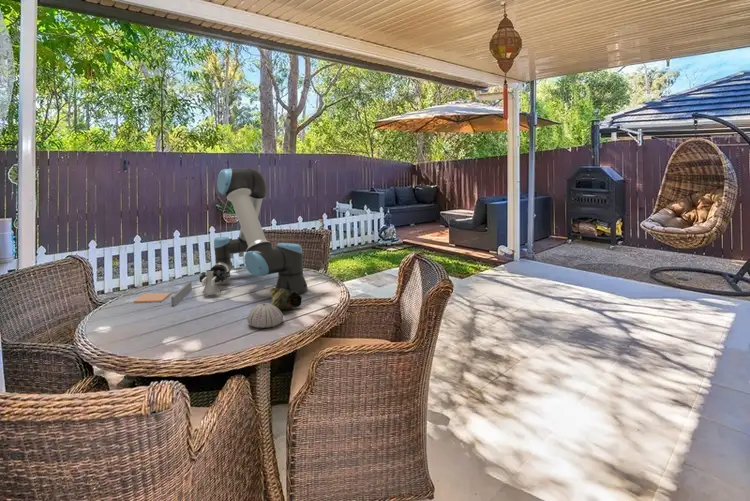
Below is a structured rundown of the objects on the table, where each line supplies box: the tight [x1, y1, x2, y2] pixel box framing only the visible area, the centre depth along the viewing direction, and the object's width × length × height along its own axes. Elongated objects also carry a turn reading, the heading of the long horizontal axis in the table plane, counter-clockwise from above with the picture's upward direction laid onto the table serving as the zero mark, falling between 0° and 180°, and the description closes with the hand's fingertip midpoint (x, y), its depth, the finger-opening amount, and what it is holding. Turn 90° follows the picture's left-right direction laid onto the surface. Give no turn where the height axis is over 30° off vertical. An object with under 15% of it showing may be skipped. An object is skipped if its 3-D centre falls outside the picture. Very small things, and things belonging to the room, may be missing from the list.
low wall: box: [170, 281, 193, 307], centre depth 204 cm, size 26×1×4 cm, turn 7°
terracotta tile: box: [132, 292, 172, 304], centre depth 203 cm, size 12×12×1 cm
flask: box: [202, 270, 221, 296], centre depth 205 cm, size 7×7×10 cm
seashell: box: [269, 287, 303, 311], centre depth 184 cm, size 11×11×10 cm
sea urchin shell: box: [246, 302, 284, 329], centre depth 169 cm, size 13×14×8 cm
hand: (207, 283), depth 199 cm, fingers closed on flask, 3 cm apart
